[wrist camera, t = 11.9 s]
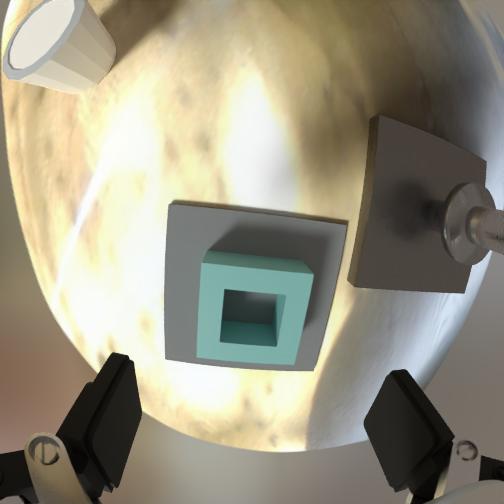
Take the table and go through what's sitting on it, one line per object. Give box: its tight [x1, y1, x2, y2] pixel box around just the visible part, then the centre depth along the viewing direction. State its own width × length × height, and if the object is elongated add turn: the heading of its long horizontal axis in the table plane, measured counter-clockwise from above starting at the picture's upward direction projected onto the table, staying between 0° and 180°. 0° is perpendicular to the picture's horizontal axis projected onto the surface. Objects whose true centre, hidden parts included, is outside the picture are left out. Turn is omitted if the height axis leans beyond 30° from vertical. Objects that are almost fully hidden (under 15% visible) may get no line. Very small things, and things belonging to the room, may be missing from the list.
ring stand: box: [347, 115, 504, 294], centre depth 14 cm, size 12×12×10 cm
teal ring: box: [197, 250, 314, 365], centre depth 18 cm, size 6×6×3 cm
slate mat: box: [164, 204, 347, 371], centre depth 19 cm, size 12×12×1 cm
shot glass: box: [3, 0, 117, 95], centre depth 11 cm, size 7×7×7 cm
